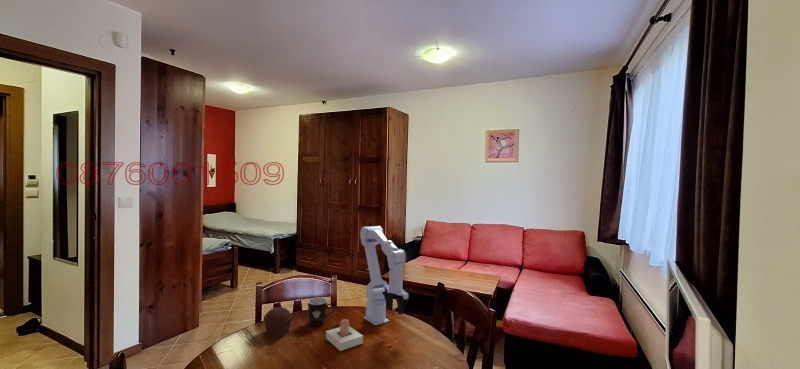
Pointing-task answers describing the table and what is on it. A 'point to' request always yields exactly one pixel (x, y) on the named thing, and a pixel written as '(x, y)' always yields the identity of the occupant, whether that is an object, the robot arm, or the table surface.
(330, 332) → the socket block
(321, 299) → the coffee mug
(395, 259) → the robot arm
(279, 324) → the muffin
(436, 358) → the table surface
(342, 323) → the dowel
